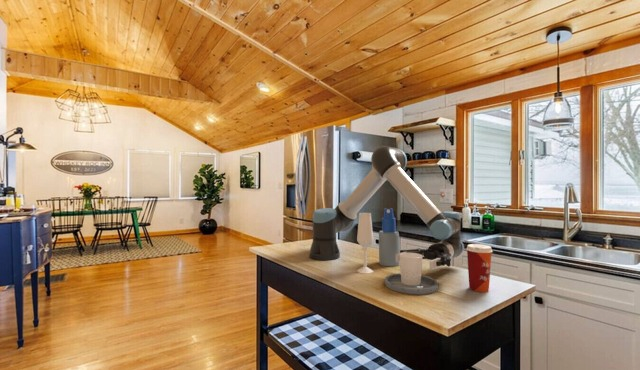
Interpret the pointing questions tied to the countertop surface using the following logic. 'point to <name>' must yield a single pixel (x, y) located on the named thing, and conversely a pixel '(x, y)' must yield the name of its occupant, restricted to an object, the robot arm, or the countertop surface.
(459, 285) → the countertop surface
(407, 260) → the white cup
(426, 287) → the plate
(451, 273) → the countertop surface
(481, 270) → the coffee cup
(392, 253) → the spray bottle
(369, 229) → the champagne flute
